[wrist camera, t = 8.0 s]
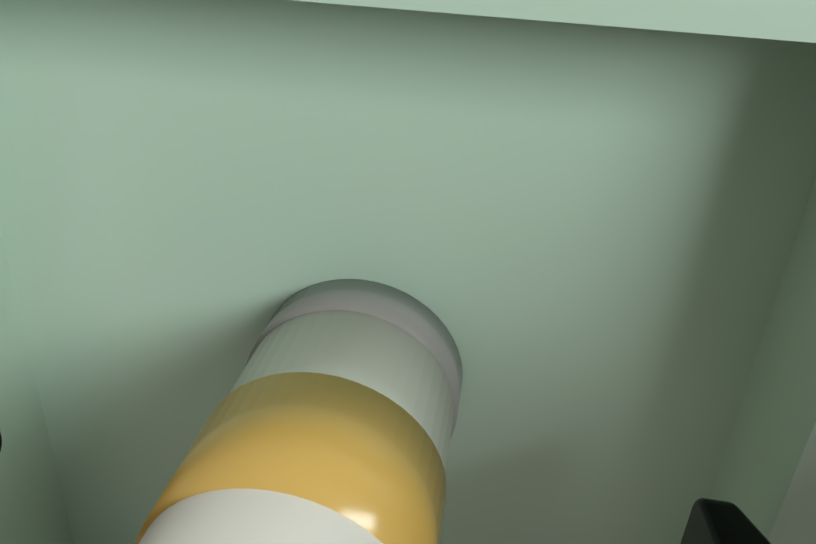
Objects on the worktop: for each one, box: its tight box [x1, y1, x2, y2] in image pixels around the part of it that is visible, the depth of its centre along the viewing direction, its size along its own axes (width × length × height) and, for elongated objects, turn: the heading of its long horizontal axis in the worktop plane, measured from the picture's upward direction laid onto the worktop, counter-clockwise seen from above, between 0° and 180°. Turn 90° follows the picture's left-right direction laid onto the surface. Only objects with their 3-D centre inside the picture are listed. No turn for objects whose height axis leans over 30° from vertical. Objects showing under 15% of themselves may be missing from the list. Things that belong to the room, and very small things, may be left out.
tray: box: [0, 0, 816, 544], centre depth 11 cm, size 13×13×3 cm
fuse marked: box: [135, 279, 463, 544], centre depth 9 cm, size 3×3×6 cm
